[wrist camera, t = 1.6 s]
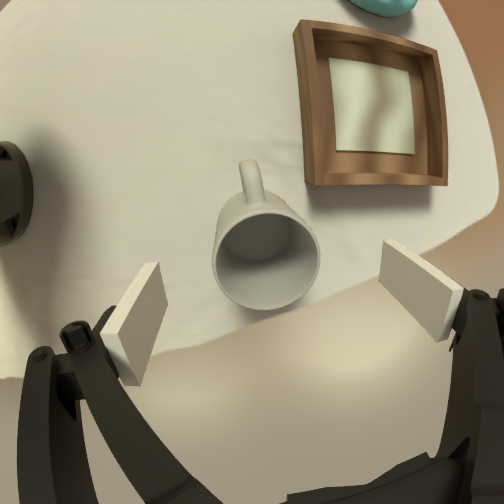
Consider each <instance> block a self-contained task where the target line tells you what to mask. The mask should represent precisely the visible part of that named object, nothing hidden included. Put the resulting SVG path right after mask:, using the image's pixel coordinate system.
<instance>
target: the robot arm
mask: <svg viewBox="0 0 504 504" xmlns="http://www.w3.org/2000/svg"><path fill="white" fill-rule="evenodd" d="M32 202H33V188H32V179H31V174H30V170H29V166H28V163H27V161H26V159H25V157H24V155H23V153H22V152H21V150H20V149H19V148H18V147H17V146H16V145H15V144H13V143H11V142H8V141H2V142H0V247H1V246H5V245H8V244H9V243H11V242H13V241H15V240H16V239H18V238H19V237H20V236H21V235H22V234H23V232H24V231H25V229H26V227H27V225H28V222H29V219H30V215H31V210H32ZM379 282H380V283H381V284H382V285H383V286H384V287H385V288H386V289H387V290H388V291H389V292H390V293H391V294H392V295H393V296H394V297H395V298H396V299H397V300H398V301H399V302H400V303H401V305H403V307H404V308H405V309H406V310H407V311H408V312H409V313H410V314H411V315H412V316H413V317H414V318H415V319H416V320H417V321H418V322H419V323H420V325H421V326H422V327H423V328H424V329H425V330H426V331H427V332H428V333H429V334H430V335H431V337H432V338H433V339H434V340H435V341H436V342H437V343H438V342H440V341H443V340H446V339H448V337H449V334H450V332H451V329H452V328H453V329H454V330H455V331H456V333H455V336H454V339H453V342H452V344H451V346H450V349H449V351H451V349H452V348H453V361H452V374H451V384H450V393H449V400H448V407H447V413H446V418H445V424H444V429H443V433H442V438H441V443H440V446H439V450H438V452H437V454H436V456H435V458H430V457H429V456H428V454H427V452H425V453H423V454H421V455H418V456H416V457H414V458H412V459H409V460H407V461H405V462H402V463H400V464H398V465H396V466H395V467H393V468H392V469H391V470H389V471H387V472H386V473H384V474H383V475H381V476H380V477H378V478H377V479H375V480H373V481H372V482H370V483H368V484H365V485H358V486H344V487H325V488H320V489H315V490H310V491H305V492H300V493H294V494H287V501H286V502H283V503H280V504H504V288H503V289H500V290H499V293H498V296H497V298H491V297H490V296H489V295H488V294H487V293H486V292H484V291H482V290H478V289H473V290H470V291H468V290H467V289H465V288H464V287H463V286H461V285H460V284H459V283H457V282H455V281H454V280H453V279H452V278H450V277H449V276H448V275H446V274H445V273H443V272H441V271H440V270H438V269H437V268H435V267H434V266H432V265H431V264H430V263H428V262H427V261H425V260H424V259H422V258H421V257H419V256H418V255H416V254H415V253H413V252H412V251H410V250H409V249H407V248H406V247H404V246H403V245H401V244H400V243H398V242H396V241H395V240H383V247H382V257H381V267H380V275H379ZM167 306H168V302H167V298H166V294H165V289H164V285H163V281H162V276H161V272H160V267H159V262H150V263H145V265H144V266H143V268H142V269H141V271H140V272H139V273H138V275H137V276H136V278H135V279H134V281H133V282H132V284H131V285H130V287H129V288H128V290H127V291H126V293H125V294H124V296H123V297H122V299H121V300H120V302H119V303H118V305H117V306H111V307H110V308H109V309H107V310H106V311H105V312H104V313H103V315H102V316H101V319H99V321H98V322H97V324H96V325H95V327H94V328H93V330H92V331H91V328H90V326H89V324H88V323H87V322H85V321H75V322H72V323H70V324H68V325H66V326H65V327H64V328H63V329H62V330H61V332H60V338H61V340H62V342H63V344H64V346H65V348H66V350H67V352H68V353H65V354H59V355H55V353H54V351H53V349H52V348H51V347H49V346H42V347H38V348H36V349H35V350H33V352H32V353H31V354H30V355H29V357H28V361H27V366H26V371H25V376H24V382H23V388H22V395H21V402H20V410H19V411H20V412H19V421H18V437H17V477H18V491H19V501H20V504H98V500H97V497H96V493H95V489H94V486H93V482H92V477H91V473H90V468H89V463H88V458H87V453H86V448H85V442H84V435H83V427H82V419H81V409H80V400H81V399H85V400H86V402H87V404H88V406H89V409H90V411H91V413H92V415H93V417H94V419H95V421H96V424H97V425H98V427H99V430H100V432H101V433H102V435H103V437H104V439H105V441H106V443H107V445H108V446H109V448H110V450H111V452H112V454H113V455H114V457H115V459H116V460H117V462H118V464H119V465H120V467H121V468H122V470H123V472H124V473H125V475H126V476H127V478H128V479H129V481H130V482H131V484H132V485H133V487H134V488H135V489H136V491H137V492H138V494H139V495H140V496H141V498H142V499H143V501H144V502H145V504H223V503H222V502H221V501H220V500H219V499H218V498H216V497H215V496H214V495H213V494H212V493H211V492H210V491H209V490H208V489H207V488H206V487H205V486H204V485H203V484H202V483H200V482H199V481H198V480H197V479H195V478H194V477H193V476H192V475H191V474H190V473H189V472H188V471H187V470H186V469H185V468H184V467H183V466H182V465H181V463H179V461H178V460H177V459H176V458H175V457H174V456H173V455H172V453H171V452H170V451H169V450H168V449H167V447H166V446H165V445H164V444H163V443H162V441H161V440H160V439H159V438H158V436H157V435H156V434H155V433H154V431H153V430H152V429H151V427H150V426H149V425H148V423H147V422H146V421H145V419H144V418H143V417H142V415H141V414H140V412H139V411H138V410H137V408H136V407H135V405H134V404H133V402H132V401H131V399H130V398H129V396H128V395H127V393H126V392H125V390H124V389H123V387H122V386H121V384H120V382H119V381H118V378H119V376H120V378H121V380H122V382H123V384H124V385H126V386H141V383H142V380H143V376H144V373H145V370H146V367H147V364H148V361H149V358H150V355H151V352H152V349H153V346H154V343H155V340H156V337H157V334H158V331H159V328H160V325H161V323H162V320H163V317H164V314H165V311H166V309H167Z"/></svg>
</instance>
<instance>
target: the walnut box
mask: <svg viewBox="0 0 504 504" xmlns="http://www.w3.org/2000/svg"><path fill="white" fill-rule="evenodd" d="M293 40H294V48H295V57H296V66H297V75H298V85H299V96H300V108H301V121H302V136H303V153H304V174H305V182H308V183H310V184H313V185H315V186H320V185H360V184H395V185H433V186H447V185H448V133H447V117H446V106H445V96H444V89H443V82H442V75H441V69H440V64H439V59H438V54H437V50H435V49H432V48H430V47H427V46H424V45H421V44H418V43H415V42H412V41H409V40H406V39H403V38H400V37H396V36H393V35H389V34H385V33H381V32H377V31H373V30H369V29H364V28H359V27H354V26H348V25H343V24H336V23H329V22H322V21H313V20H302V19H301V20H300V22H299V23H298V25H297V27H296V28H295V30H294V32H293Z"/></svg>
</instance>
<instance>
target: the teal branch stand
mask: <svg viewBox="0 0 504 504" xmlns="http://www.w3.org/2000/svg"><path fill="white" fill-rule="evenodd" d="M350 1H351V2H352V3H354V4H355V5H357V6H359V7H361V8H363V9H364V10H366V11H368V12H371V13H374V14H377V15H380V16H384V17H397V16H399V15H402V14H404V13H406V12H408V11H410V10H411V9H413V8H414V7H415V5H416V3H417V1H418V0H350Z"/></svg>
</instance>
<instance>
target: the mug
mask: <svg viewBox="0 0 504 504" xmlns="http://www.w3.org/2000/svg"><path fill="white" fill-rule="evenodd" d="M239 169H240V175H241V181H242V186H243V192H240V193H238V194H236V195H235V196H233V197H232V198H230V199H229V200H228V201H227V202H226V204H225V205H224V206H223V208H222V210H221V212H220V214H219V217H218V221H217V230H216V236H215V242H214V248H213V255H212V267H213V273H214V276H215V279H216V281H217V283H218V285H219V287H220V288H221V290H222V291H223V292H224V294H225V295H226V296H227V297H229V298H230V299H231V300H232V301H234V302H235V303H237V304H239V305H241V306H243V307H246V308H249V309H253V310H275V309H279V308H282V307H285V306H287V305H289V304H291V303H293V302H295V301H296V300H298V299H299V298H300V297H302V296H303V295H304V294H305V293H306V292H307V291H308V290H309V288H310V287H311V286H312V284H313V282H314V281H315V279H316V276H317V274H318V270H319V266H320V248H319V244H318V241H317V239H316V237H315V234H314V233H313V231H312V230H311V228H310V227H309V226H308V225H307V224H306V222H305V221H304V220H303V219H302V218H301V217H300V216H298V215H297V214H296V213H295V212H294V211H293V210H292V209H291V208H290V207H289V206H288V205H287V204H286V203H285V201H284V200H283V199H281V198H280V197H279V196H277V195H276V194H274V193H272V192H270V191H266V190H264V189H263V183H262V178H261V173H260V170H259V167H258V164H257V162H256V161H255V160H253V159H245V160H243V161H241V162H240V164H239Z"/></svg>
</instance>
